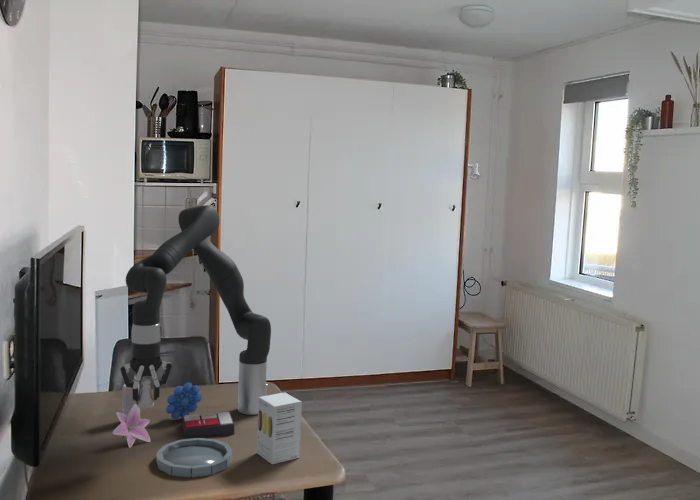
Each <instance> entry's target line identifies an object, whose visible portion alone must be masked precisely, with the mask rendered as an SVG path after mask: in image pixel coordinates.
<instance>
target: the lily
mask: <svg viewBox="0 0 700 500" xmlns="http://www.w3.org/2000/svg"><path fill="white" fill-rule="evenodd" d="M115 413H116V415H117V418H118V420H119V421H120V423H119V425H117V427H116V428H115V429H114V430H113V431H112V435H116V436H122V439H124V437H125V436H126V441H127V445H128V448H129V449H130V448H132V447H133V445H134V444H135V442H136V440H137V439H138V440H141V441H144V442H147V443H151V442H152V441H151V437H150V434H149V433H148V431H147V430H146V429H145V427H147V426H148V424H150V422H151V420H150V419H147V418H141V411H140V412H139V409H138V406H137V404H134V406H133V407H132V409H131V411H130V412H129V414H128V416H127V415H125V414H123V413H122V412H119V411H117V412H115Z"/></svg>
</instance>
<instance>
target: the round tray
mask: <svg viewBox="0 0 700 500" xmlns="http://www.w3.org/2000/svg"><path fill="white" fill-rule="evenodd" d="M233 456H234V451H233V449H232V447H231V446H230V444H228V443H226V442H224V441H221V440H218V439H215V438H214V439H213V438H207V437H206V438H205V437H191V438H185V439H183V438H182V439H178V440H174V441H172V442H169V443H166V444H164V445H162V447H161V448H160V449H159V450H158V451H157V452H156V465H157V468H158V470H159V471H161V472H163V473H165V474H168V475H170V476H173V477H179V478H180V477H183V478H199V477H206V476H212V475H214V474H215V475H216V474H217V473H220V472H222V471H225V470H227V469H228V468H229V466H231V464H232V462H233V461H234V460H233Z"/></svg>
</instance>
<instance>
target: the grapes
mask: <svg viewBox="0 0 700 500" xmlns="http://www.w3.org/2000/svg"><path fill="white" fill-rule="evenodd" d="M200 391H201V389H200V386H199V385H193V384H192V383H191V382H186V383H185V384H184V385H183V386H181V385H177V386H176V387H175V388H174V390H173V394H172V393H171V394H170V395H169V396H168V397H167V398H166V402H167V404H168V405H167V406H166V408H165V411H166V414H168V415H170V414H171V417H170V418H171V419H172V420H177V419H179V418H180V419H182V418H183V417H184V416H186V415H191V413H195V412H196V411H197V410H198V408H199V406H198V404H199V403H200V402H201V401H202V399H203V397H202V394H201V393H200Z"/></svg>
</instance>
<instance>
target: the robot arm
mask: <svg viewBox="0 0 700 500" xmlns="http://www.w3.org/2000/svg"><path fill="white" fill-rule="evenodd" d="M177 219H178V225H179V228H180V232H178V233H177V234H175V235H173V236H171V237H170V238H169V239H166V240H165V241H164V242H163V243H162V244H160V246H159V247H158V248H157V249H156V250H155V251H154V252H153V253H152V254H151V255H149V256H147V257H145V258H143V259H142V260H140V261H138V262H136V263H135V264H134V265H132V266H131V267H130V268H129V269H128V271H127V273H126V275H125V284H126V285H125V286H127V288H128V289H129V291H132V292H136V293H144V294H147V296H146V299H143V300H138V301H136V302H133V305H132V326H131V358H130V361H129V363H126V364H121V365H119V369H120V373H121V375H122V377H123V378H122V379H123V382H124V384H125V385H126V387H131V388H132V397H133V400H135V402H138V384H140V381H141V378H142V377H144V378H145V377H152V382H153V399H154V401H157V400H158V399H159V398H160V387H161V386H162V385H166V384H167V382H168V378H169V376H170V373H171V370H172V366H173V365H172V363H171V361H168V360H167V361H164V360H162V359H161V340H162V339H161V337H162V334H161V325H160V320H161V319H160V315H161V313H160V310H161V304H162V301H163V298H164V297H163V296H164V293H165V290H166V287H167V281H168V280H167V275H169V274H171V272H172V271H173V270H174V269H175V268H176V267H177V265H179V263H180V262H181V261H182V260H183V259H184V258H185V257H186V256H187V255H188V254H189V253H190V252H191V251H194V252H195V254H196V255H197V257H198V259H199V260H200V262H201V264H202V265H203V267H204V270H205V271H206V273H207V275H208V277H209V279H210V281H211V283H212V285H213V286H214V289H215V290H216V292H217V293H218V296H219V297H220V299H221V301H222V303H223V305H224V307H225V308H226V310H227V312H228V315H229V318H230V320H231V322H232V325H233V327H234V330H235V331H236V333H237V335H238V336H239V337H240V338H241V339H244V340H247V346H246V349H245V350H242V351H240V353H239V355H238V356H239V360H238V362H239V363H238V387H237V391H238V392H237V393H238V394H237V396H238V397H237V412H238V413H240V414H244V415H249V416H251V415H253V416H254V415H255V416H256V415H258V402H259V397H262V396H267V395H268V387H269V386H268V383H267V368H268V367H267V366H268V363H267V361H268V356H269V353H270V348H271V338H272V325H271V321H270V320H269V318H267V317H266V316H264V315H261V314H258V313H255V312H254V311H252V309H251V307H250V306H249V305H248V302H247V301H246V299H245V295H244V293H245V287H244V286H245V284H244V279H243V276H242V274H241V272H240V269H239V268H238V266H237V264H236V263H235V261H234V260H233V259H232V258H231V257H229V255H227V254H226V253H225V252H224V251H222V250H220V249H219V248H218V247H216V246H215V245H214V244H213V243H212V242H211V241H210V239H209V237H210V236H211V235H213V234H214V233H215V232H216V231H217V230H218V228H219V226H220V222H221V221H220V215H219V213H218V210H216V208H215V207H214V206H212V205H209V204H207V205H205V204H204V205H200V206H193V207H187V208H185V209H182V210H181V211H180V212H179V215H178V218H177ZM161 366H162V369H163V372H162V375H161V378H160V379H159V378H158V375H157V372H158V370H159V369H160V368H161ZM130 369H132V370H133V372H134V373H135V374H134V376H133V380H132V381H130V378H129V376H128V373H129V372H130Z"/></svg>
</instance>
